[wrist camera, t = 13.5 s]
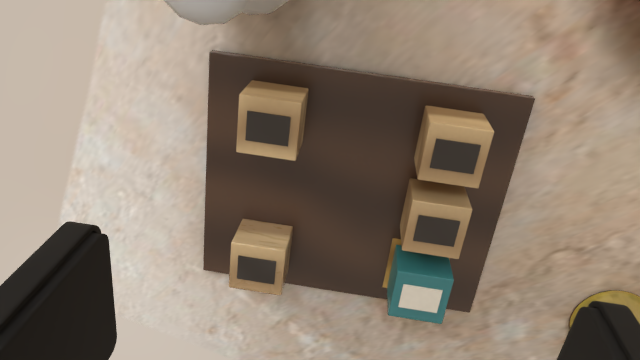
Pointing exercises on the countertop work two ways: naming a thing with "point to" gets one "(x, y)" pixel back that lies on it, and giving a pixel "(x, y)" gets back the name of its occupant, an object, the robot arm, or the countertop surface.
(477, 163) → the tile
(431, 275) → the tile
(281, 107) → the light wood cube
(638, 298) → the vase
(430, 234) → the tile
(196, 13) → the salt shaker
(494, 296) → the countertop surface
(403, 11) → the countertop surface
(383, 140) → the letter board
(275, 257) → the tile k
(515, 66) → the countertop surface
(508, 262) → the countertop surface
